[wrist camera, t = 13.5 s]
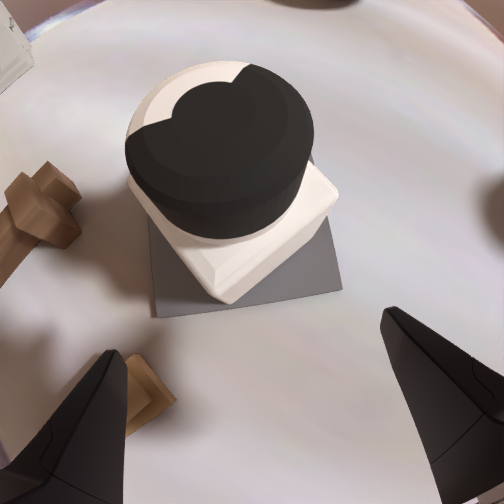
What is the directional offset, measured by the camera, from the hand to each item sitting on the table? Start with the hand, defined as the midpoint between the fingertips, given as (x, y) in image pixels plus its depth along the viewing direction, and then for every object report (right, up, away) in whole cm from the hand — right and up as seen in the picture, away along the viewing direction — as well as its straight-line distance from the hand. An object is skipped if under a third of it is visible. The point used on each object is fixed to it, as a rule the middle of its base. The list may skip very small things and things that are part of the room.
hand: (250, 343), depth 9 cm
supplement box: (-34, +29, +17) cm, 47 cm away
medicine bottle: (-1, +4, +11) cm, 12 cm away
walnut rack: (-21, +1, +11) cm, 23 cm away
